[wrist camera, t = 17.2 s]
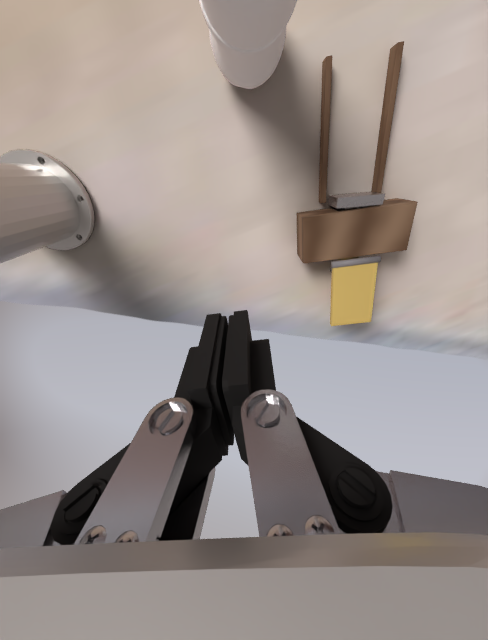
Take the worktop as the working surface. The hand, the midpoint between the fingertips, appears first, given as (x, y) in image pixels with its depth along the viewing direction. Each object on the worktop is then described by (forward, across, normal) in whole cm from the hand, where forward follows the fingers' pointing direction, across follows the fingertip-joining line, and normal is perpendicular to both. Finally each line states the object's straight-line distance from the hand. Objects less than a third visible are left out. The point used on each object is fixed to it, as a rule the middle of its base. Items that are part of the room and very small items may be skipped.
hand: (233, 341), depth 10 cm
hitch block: (+29, -15, -4) cm, 33 cm away
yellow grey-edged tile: (+24, -15, +11) cm, 30 cm away
